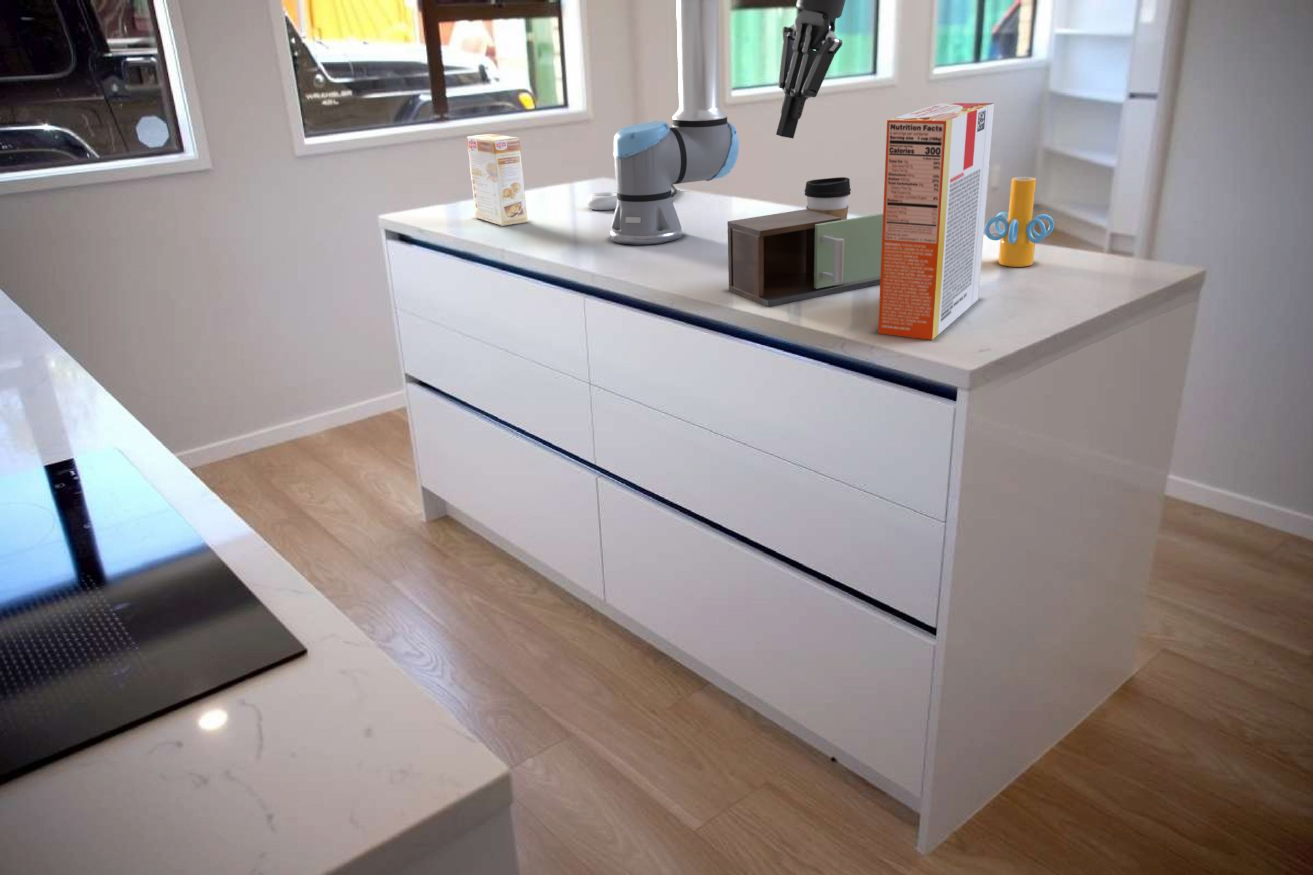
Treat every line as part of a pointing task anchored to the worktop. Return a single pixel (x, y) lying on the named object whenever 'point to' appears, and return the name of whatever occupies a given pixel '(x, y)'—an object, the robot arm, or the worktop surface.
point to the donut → (602, 201)
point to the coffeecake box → (497, 178)
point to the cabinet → (779, 258)
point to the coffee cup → (828, 196)
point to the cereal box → (933, 216)
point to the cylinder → (1019, 225)
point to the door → (848, 250)
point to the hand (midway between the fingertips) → (784, 136)
